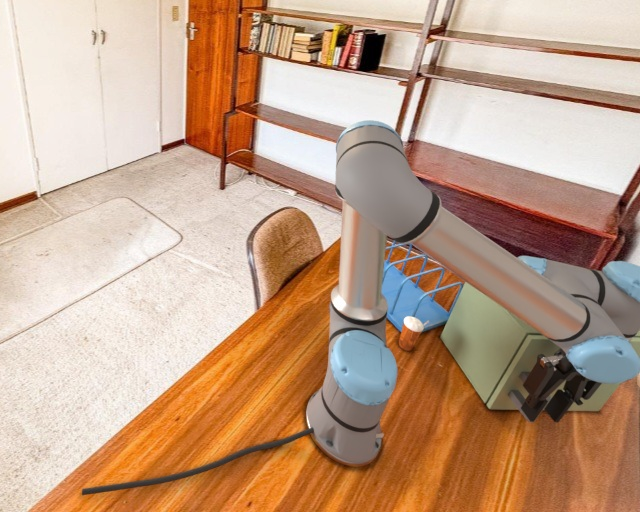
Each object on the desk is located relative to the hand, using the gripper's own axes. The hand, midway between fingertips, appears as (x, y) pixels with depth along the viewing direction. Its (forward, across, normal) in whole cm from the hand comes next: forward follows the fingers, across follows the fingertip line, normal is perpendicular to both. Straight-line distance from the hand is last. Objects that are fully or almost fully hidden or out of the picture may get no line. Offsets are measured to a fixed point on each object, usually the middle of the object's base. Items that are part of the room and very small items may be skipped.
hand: (539, 415), depth 82 cm
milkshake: (+7, -15, +22) cm, 27 cm away
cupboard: (+7, +9, +16) cm, 19 cm away
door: (+7, +9, +3) cm, 11 cm away
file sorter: (+7, -10, +39) cm, 41 cm away
